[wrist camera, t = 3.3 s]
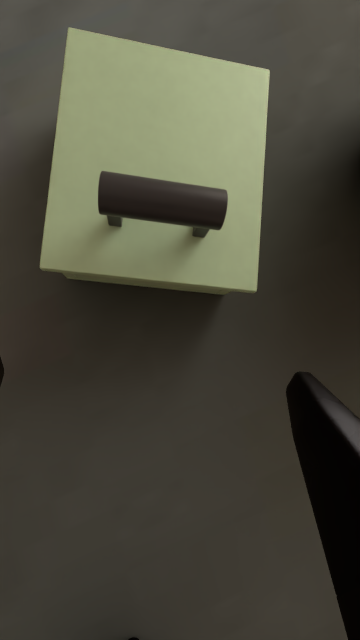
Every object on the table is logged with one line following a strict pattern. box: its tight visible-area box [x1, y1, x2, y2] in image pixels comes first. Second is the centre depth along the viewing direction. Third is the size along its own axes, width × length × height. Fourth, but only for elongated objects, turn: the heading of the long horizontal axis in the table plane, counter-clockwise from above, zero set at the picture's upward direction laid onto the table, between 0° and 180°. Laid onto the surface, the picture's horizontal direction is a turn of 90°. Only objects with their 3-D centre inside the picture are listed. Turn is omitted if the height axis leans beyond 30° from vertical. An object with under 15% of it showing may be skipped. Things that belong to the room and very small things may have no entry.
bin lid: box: [40, 28, 269, 293], centre depth 16 cm, size 13×12×4 cm
